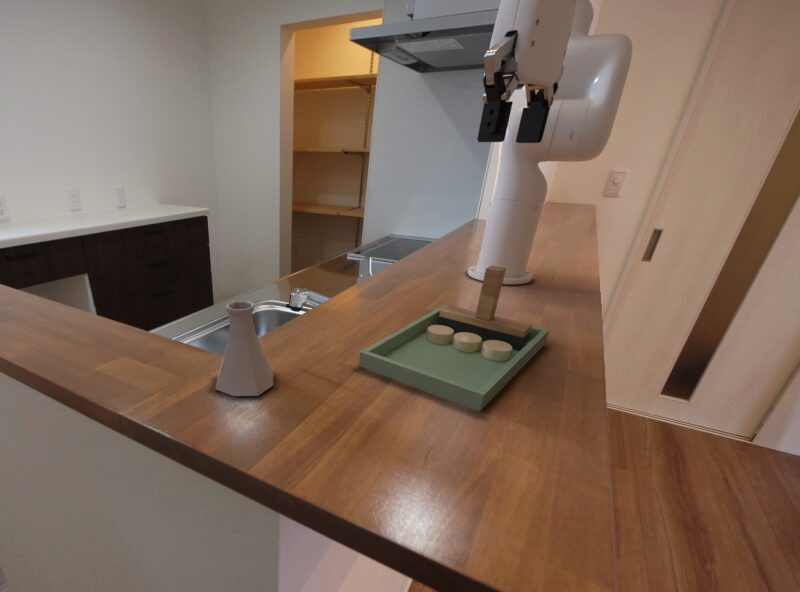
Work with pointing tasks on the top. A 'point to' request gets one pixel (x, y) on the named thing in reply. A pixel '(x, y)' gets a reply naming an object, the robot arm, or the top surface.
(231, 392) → the flask
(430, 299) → the top surface
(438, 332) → the crumb
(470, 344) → the crumb
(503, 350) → the crumb
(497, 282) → the brush
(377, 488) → the top surface
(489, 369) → the tray
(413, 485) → the top surface
